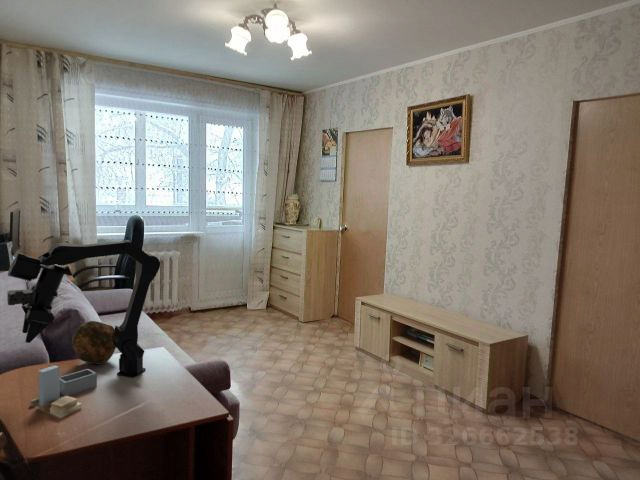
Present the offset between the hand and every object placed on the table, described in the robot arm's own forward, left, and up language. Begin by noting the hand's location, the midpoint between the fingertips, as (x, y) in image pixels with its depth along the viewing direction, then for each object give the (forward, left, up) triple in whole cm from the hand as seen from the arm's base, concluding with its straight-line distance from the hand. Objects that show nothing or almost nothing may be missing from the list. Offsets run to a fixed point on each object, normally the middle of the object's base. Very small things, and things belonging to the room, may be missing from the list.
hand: (25, 337), depth 132 cm
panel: (-11, +4, -16) cm, 20 cm away
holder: (-12, -6, -17) cm, 21 cm away
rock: (-3, -24, -17) cm, 30 cm away
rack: (-14, +5, -17) cm, 22 cm away
